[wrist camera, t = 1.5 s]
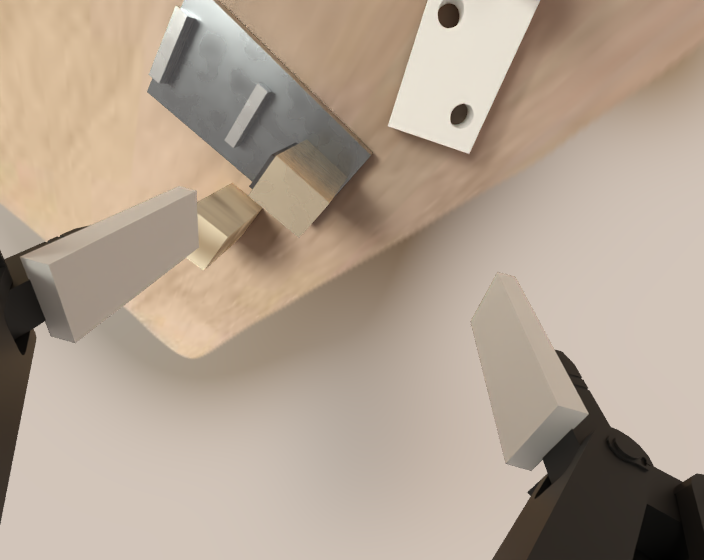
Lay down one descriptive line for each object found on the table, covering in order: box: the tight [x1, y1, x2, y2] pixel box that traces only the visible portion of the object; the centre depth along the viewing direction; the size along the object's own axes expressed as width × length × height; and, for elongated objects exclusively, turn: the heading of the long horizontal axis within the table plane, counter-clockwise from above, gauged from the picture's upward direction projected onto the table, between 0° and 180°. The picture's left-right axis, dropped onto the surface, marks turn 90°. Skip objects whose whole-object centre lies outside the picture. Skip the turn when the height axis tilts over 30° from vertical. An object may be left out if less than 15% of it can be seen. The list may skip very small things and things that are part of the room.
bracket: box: [388, 0, 540, 154], centre depth 23 cm, size 13×7×8 cm, turn 164°
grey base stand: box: [147, 0, 373, 238], centre depth 27 cm, size 19×10×10 cm, turn 49°
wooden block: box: [186, 183, 262, 271], centre depth 33 cm, size 5×4×8 cm
